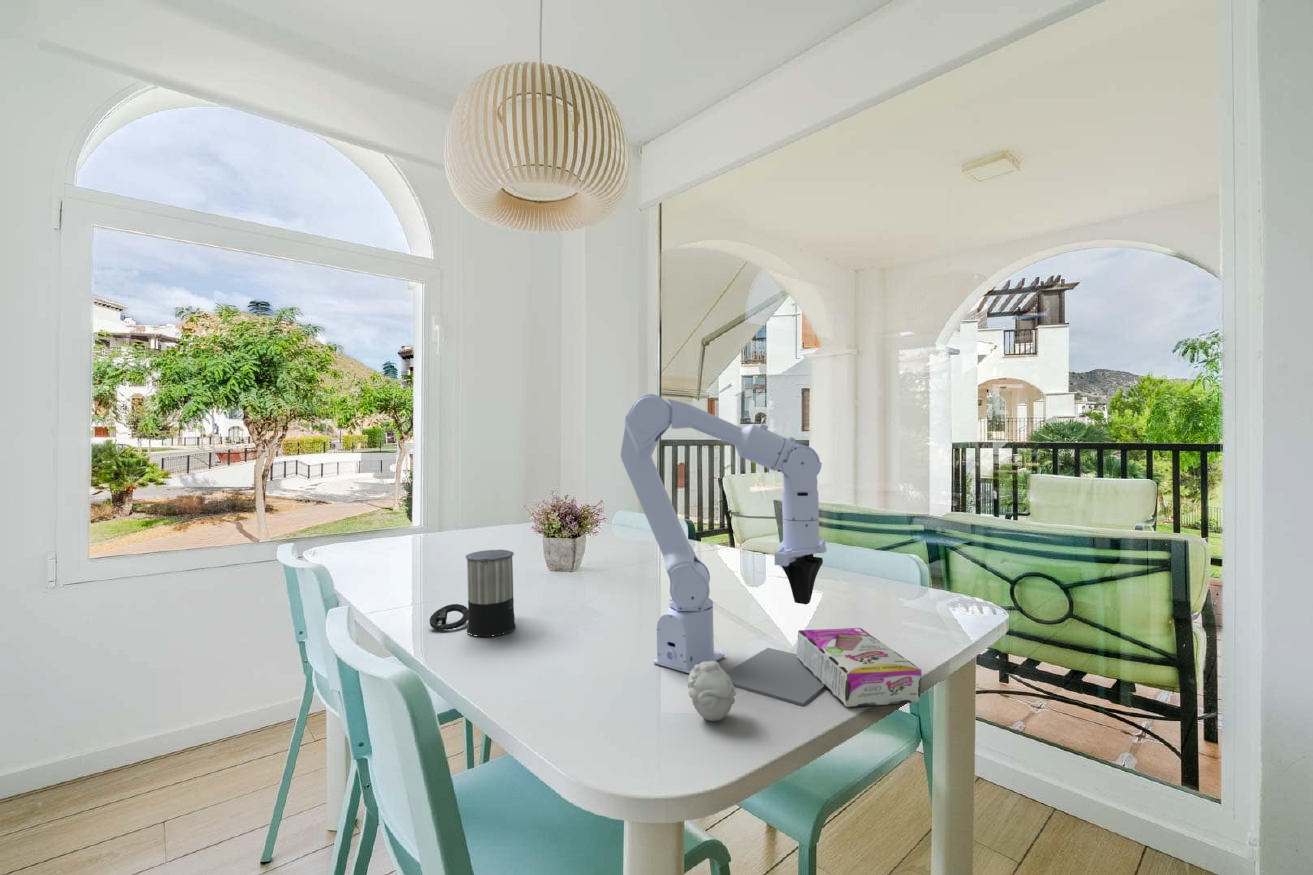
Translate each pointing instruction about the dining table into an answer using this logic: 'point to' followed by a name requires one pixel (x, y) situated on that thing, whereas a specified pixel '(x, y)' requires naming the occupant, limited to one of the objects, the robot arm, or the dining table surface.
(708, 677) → the white carved ornament
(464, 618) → the milk frother
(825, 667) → the candy bar box
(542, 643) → the dining table surface
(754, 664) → the rubber mat
